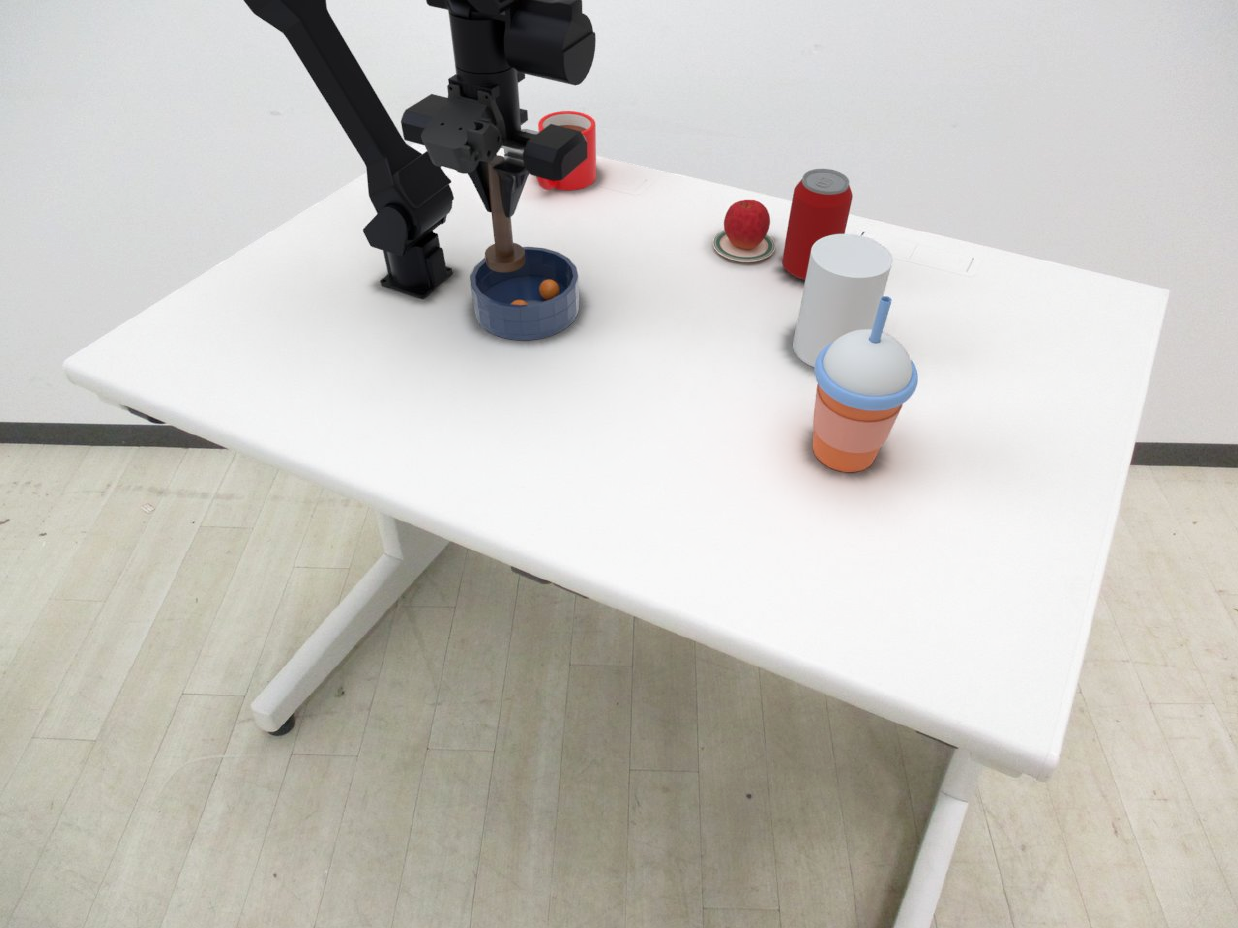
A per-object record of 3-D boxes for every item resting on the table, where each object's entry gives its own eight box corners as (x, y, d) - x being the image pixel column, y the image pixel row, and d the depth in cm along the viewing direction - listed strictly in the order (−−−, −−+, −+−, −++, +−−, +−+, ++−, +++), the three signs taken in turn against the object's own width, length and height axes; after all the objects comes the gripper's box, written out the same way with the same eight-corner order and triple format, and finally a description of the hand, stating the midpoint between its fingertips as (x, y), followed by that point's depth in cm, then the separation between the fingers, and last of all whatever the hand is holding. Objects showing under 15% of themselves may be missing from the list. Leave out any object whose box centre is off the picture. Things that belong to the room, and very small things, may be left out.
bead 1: (505, 321, 96) (504, 304, 95) (516, 310, 98) (515, 293, 96) (524, 327, 96) (522, 310, 94) (534, 316, 97) (533, 298, 95)
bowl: (454, 322, 98) (448, 289, 94) (510, 269, 105) (506, 237, 102) (545, 352, 94) (543, 319, 91) (597, 295, 101) (596, 263, 98)
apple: (704, 256, 107) (708, 210, 103) (723, 226, 112) (728, 180, 108) (765, 270, 105) (772, 223, 100) (781, 238, 110) (789, 192, 106)
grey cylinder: (874, 337, 96) (900, 245, 87) (856, 380, 91) (882, 285, 82) (804, 319, 98) (823, 227, 90) (783, 359, 93) (801, 265, 85)
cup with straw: (891, 491, 80) (946, 339, 67) (794, 476, 81) (829, 324, 68) (889, 425, 86) (939, 275, 73) (799, 413, 87) (832, 263, 74)
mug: (517, 196, 118) (512, 141, 112) (557, 159, 125) (554, 106, 119) (567, 209, 115) (565, 153, 110) (605, 170, 123) (605, 117, 117)
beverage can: (844, 265, 106) (864, 175, 98) (822, 291, 102) (842, 200, 94) (794, 249, 109) (810, 160, 100) (771, 274, 105) (786, 184, 96)
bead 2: (535, 301, 99) (534, 283, 97) (546, 290, 101) (545, 273, 99) (553, 306, 98) (552, 289, 97) (563, 296, 100) (562, 278, 98)
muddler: (478, 266, 94) (465, 163, 85) (499, 247, 97) (489, 146, 88) (511, 276, 92) (501, 174, 84) (532, 257, 95) (525, 155, 86)
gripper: (350, 73, 77) (382, 226, 88) (525, 117, 71) (536, 275, 82) (424, 33, 84) (445, 180, 95) (589, 70, 78) (591, 222, 89)
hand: (500, 213), depth 90 cm, fingers closed on muddler, 2 cm apart
